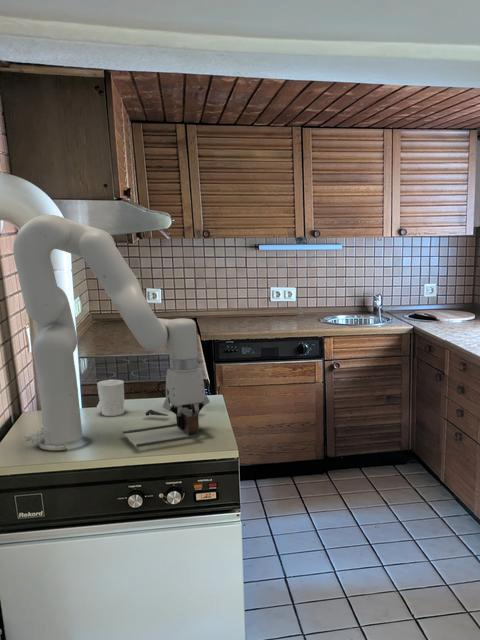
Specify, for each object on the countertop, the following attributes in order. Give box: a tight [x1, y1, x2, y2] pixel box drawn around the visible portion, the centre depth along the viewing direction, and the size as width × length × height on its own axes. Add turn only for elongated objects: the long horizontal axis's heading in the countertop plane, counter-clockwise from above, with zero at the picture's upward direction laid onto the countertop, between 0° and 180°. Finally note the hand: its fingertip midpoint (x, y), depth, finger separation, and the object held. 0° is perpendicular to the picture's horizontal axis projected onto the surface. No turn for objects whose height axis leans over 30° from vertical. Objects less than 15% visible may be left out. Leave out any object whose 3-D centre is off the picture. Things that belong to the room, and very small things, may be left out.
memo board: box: [122, 423, 200, 448], centre depth 194 cm, size 17×14×2 cm
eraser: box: [177, 407, 200, 436], centre depth 197 cm, size 3×10×6 cm, turn 32°
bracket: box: [145, 409, 169, 417], centre depth 214 cm, size 14×15×3 cm
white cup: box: [96, 379, 125, 417], centre depth 219 cm, size 8×8×10 cm
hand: (187, 427), depth 198 cm, fingers closed on eraser, 3 cm apart
